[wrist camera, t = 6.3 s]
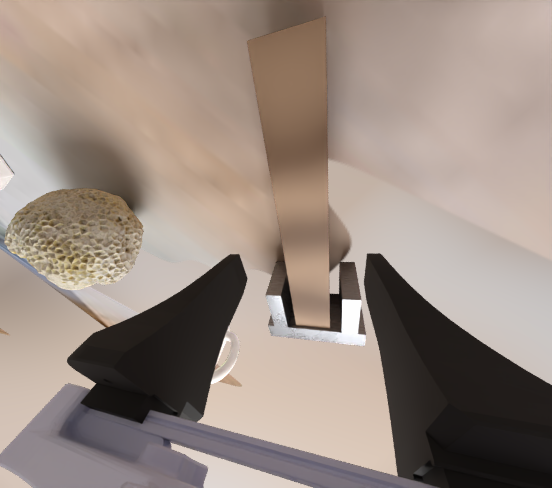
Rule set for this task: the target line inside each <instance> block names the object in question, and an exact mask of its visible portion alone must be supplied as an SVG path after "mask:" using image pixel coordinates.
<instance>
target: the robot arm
mask: <svg viewBox="0 0 552 488" xmlns="http://www.w3.org/2000/svg"><path fill="white" fill-rule="evenodd" d="M246 282H247V276H246V273H245V270H244V267H243V264H242V261H241V258H240V255H239V254H230V255H229V256H227V257H226V258H224V259H223V260H222V261H221V262H219V263H218V264H217V265H215V266H214V267H213V268H212V269H210V270H209V271H208V272H207V273H205V274H204V275H203V276H201V277H200V278H199V279H197V280H196V281H194V282H193V283H192V284H190V285H189V286H187V287H186V288H184V289H183V290H181V291H180V292H178V293H177V294H175V295H173V296H172V297H170V298H169V299H167V300H165V301H163V302H161V303H160V304H158V305H156V306H154V307H152V308H150V309H148V310H146V311H144V312H142V313H140V314H138V315H136V316H134V317H132V318H129V319H127V320H125V321H123V322H120V323H118V324H115V325H113V326H110V327H108V328H105V329H103V330H100V331H98V332H95V333H93V334H92V335H91V336H90V337H89V338H88V339H87V340H86V341H85V342H84V343H83V344H82V345H81V346H80V347H78V348H77V349H76V350H75V351H74V352H73V354H71V355H70V356H69V357H68V359H67V363H68V364H69V365H70V366H71V367H72V368H73V369H75V370H76V371H78V372H79V373H81V374H82V375H84V376H86V377H88V378H89V379H90V380H92V381H93V382H95V383H96V385H95V386H94V387H93V388H92V389H91V390H90V389H87V388H85V387H81V386H77V385H73V384H70V383H68V384H65V386H64V387H63V388H62V389H61V390H60V391H59V392H58V393H57V394H56V395H55V396H54V397H53V398H52V399H51V400H50V402H49V403H48V404H47V405H46V406H45V407H44V408H43V409H42V410H41V411H40V413H38V414H37V415H36V416H35V418H34V419H33V420H32V421H31V422H30V423H29V424H28V425H27V426H26V427H25V428H24V429H23V430H22V432H21V433H20V434H19V435H18V436H17V437H16V438H15V439H14V440H13V441H12V442H11V443H10V444H9V445H8V446H7V447H6V448H5V450H4V451H3V452H2V453H1V454H0V466H1V467H3V468H5V469H7V470H9V471H11V472H12V473H14V474H16V475H17V476H19V477H20V478H21V479H23V480H24V481H25V482H27V483H28V484H29V485H30V486H31V487H33V488H203V484H204V480H205V477H206V474H207V471H208V468H207V466H205V465H203V464H201V463H199V462H197V461H195V460H193V459H191V458H189V457H188V456H186V455H185V454H182V453H180V452H177V451H174V450H172V449H171V443H174V444H177V445H181V446H184V447H187V448H190V449H193V450H196V451H200V452H203V453H206V454H209V455H212V456H215V457H218V458H222V459H225V460H228V461H231V462H235V463H237V464H241V465H244V466H247V467H250V468H253V469H256V470H260V471H263V472H266V473H269V474H272V475H275V476H279V477H282V478H285V479H288V480H291V481H294V482H298V483H301V484H304V485H307V486H310V487H313V488H552V385H550V384H549V383H547V382H545V381H543V380H542V379H540V378H538V377H537V376H535V375H533V374H531V373H530V372H528V371H526V370H524V369H523V368H521V367H520V366H518V365H517V364H515V363H513V362H512V361H510V360H509V359H507V358H505V357H504V356H502V355H501V354H499V353H497V352H496V351H494V350H493V349H491V348H490V347H488V346H487V345H485V344H483V343H482V342H481V341H479V340H477V339H476V338H475V337H473V336H472V335H470V334H469V333H468V332H466V331H465V330H463V329H462V328H460V327H459V326H458V325H456V324H455V323H454V322H452V321H451V320H450V319H448V318H447V317H446V316H445V315H443V314H442V313H441V312H440V311H438V310H437V309H436V308H435V307H433V306H432V305H431V304H430V303H429V302H428V301H426V300H425V299H424V298H423V297H422V296H421V295H420V294H419V293H417V292H416V291H415V290H414V289H413V288H412V287H411V286H410V285H409V284H408V283H407V282H406V281H405V280H404V279H403V278H402V277H401V276H400V275H399V274H398V273H397V271H396V270H395V269H394V268H393V267H392V266H391V265H390V264H389V263H388V261H387V260H386V259H385V258H384V257H383V256H382V255H381V254H367V260H366V269H365V278H364V286H365V293H366V300H367V304H368V308H369V311H370V315H371V319H372V322H373V326H374V330H375V334H376V337H377V341H378V345H379V350H380V355H381V361H382V367H383V372H384V379H385V386H386V391H387V399H388V405H389V413H390V420H391V427H392V434H393V442H394V449H395V458H396V466H397V473H398V476H394V475H390V474H387V473H383V472H379V471H375V470H372V469H368V468H364V467H361V466H357V465H353V464H350V463H346V462H342V461H338V460H335V459H331V458H327V457H323V456H319V455H316V454H312V453H309V452H305V451H301V450H298V449H294V448H290V447H286V446H282V445H279V444H275V443H271V442H267V441H264V440H260V439H256V438H253V437H249V436H245V435H242V434H238V433H234V432H231V431H227V430H223V429H219V428H216V427H212V426H208V425H204V424H201V423H197V421H198V420H200V419H201V418H202V417H203V415H204V410H205V405H206V402H207V397H208V393H209V389H210V384H211V381H212V377H213V374H214V370H215V366H216V363H217V360H218V356H219V353H220V350H221V347H222V344H223V341H224V338H225V335H226V332H227V329H228V327H229V325H230V322H231V320H232V318H233V315H234V313H235V311H236V309H237V307H238V305H239V302H240V300H241V298H242V295H243V293H244V289H245V286H246ZM170 442H171V443H170Z"/></svg>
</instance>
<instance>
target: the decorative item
mask: <svg viewBox="0 0 552 488" xmlns="http://www.w3.org/2000/svg"><path fill="white" fill-rule="evenodd" d="M142 228H143V225H142V224H141V222H140V221H139V219H138V218H137V217H136V216H135V215H134V213H133V211H132V210H130V209H129V207H128V206H127V204H126V202H125V201H124V200H123V199H122V198H121V197H120V196H117V195H112V194H110V193H107V192H104V191H100V190H97V189H87V188H82V189H71V190H69V189H62V190H57V191H52V192H49V193H46V194H45V195H43V196H41V197H39V198H37V199H36V200H34V201H32V202H30V203H28V204H27V205H26V207H24V208H22V209H21V210H19V211H18V212H17V213H16V214H15V217H14V218H13V219H12V220H11V223H10V224H9V225H8V228H7V230H6V237H5V242H4V243H5V244H6V245H7V247H8V249H9V251H10V252H12V253H14V254H17V255H18V256H19V257H20V258H27V261H28V262H29V263H30V264H31V265H32V266H33V267H34V268H35V269H36V270H37V271H38V273H40V274H43V275H45V276H46V278H47V279H48V280H49V281H50V282H52V283H54V284H56V285H57V286H58V287H60V288H62V289H67V290H80V289H83V288H85V287H89V286H91V285H93V284H97V283H99V284H102V285H106V284H113V283H116V282H118V281H119V280H121V279H122V278H123V277H124V276H125V275H126V274H127V273H129V272H130V270H131V269H132V267H133V266H134V264H135V260H136V257H137V255H138V254H139V250H140V248H141V244H142V234H143V232H144V231H143V229H142Z"/></svg>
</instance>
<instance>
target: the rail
mask: <svg viewBox="0 0 552 488" xmlns="http://www.w3.org/2000/svg"><path fill="white" fill-rule="evenodd" d="M247 44H248V50H249V56H250V61H251V67H252V73H253V79H254V84H255V90H256V96H257V102H258V108H259V113H260V119H261V125H262V131H263V136H264V142H265V148H266V154H267V159H268V165H269V171H270V177H271V182H272V188H273V194H274V200H275V206H276V211H277V217H278V223H279V229H280V234H281V240H282V246H283V252H284V257H285V263H286V269H287V275H288V281H289V286H290V292H291V298H292V304H293V309H294V315H295V321H296V325H298V326H308V327H318V328H329V329H330V296H329V221H328V146H327V71H326V16H325V17H322V18H319V19H316V20H312V21H309V22H306V23H303V24H300V25H296V26H293V27H290V28H287V29H283V30H280V31H277V32H274V33H271V34H267V35H264V36H261V37H258V38H255V39H251V40H248V41H247Z"/></svg>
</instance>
